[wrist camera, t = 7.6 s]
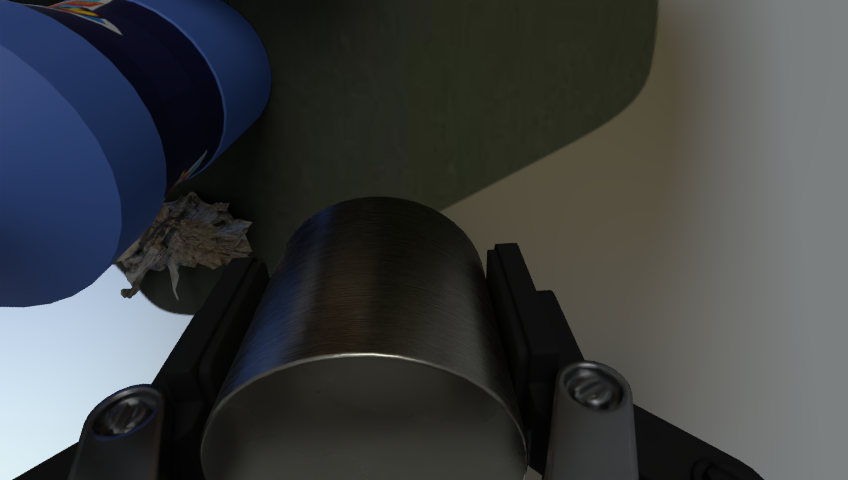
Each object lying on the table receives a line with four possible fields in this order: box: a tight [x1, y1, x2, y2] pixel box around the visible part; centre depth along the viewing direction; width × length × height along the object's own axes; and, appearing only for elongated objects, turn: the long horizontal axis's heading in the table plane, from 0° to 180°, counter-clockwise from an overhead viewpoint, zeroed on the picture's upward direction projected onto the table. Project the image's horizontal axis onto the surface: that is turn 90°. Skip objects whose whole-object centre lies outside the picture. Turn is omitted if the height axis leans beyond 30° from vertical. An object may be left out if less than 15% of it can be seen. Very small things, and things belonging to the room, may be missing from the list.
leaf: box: [113, 192, 264, 300], centre depth 35 cm, size 11×15×2 cm
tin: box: [199, 197, 528, 480], centre depth 10 cm, size 6×6×5 cm
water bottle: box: [0, 0, 271, 307], centre depth 19 cm, size 9×9×25 cm
